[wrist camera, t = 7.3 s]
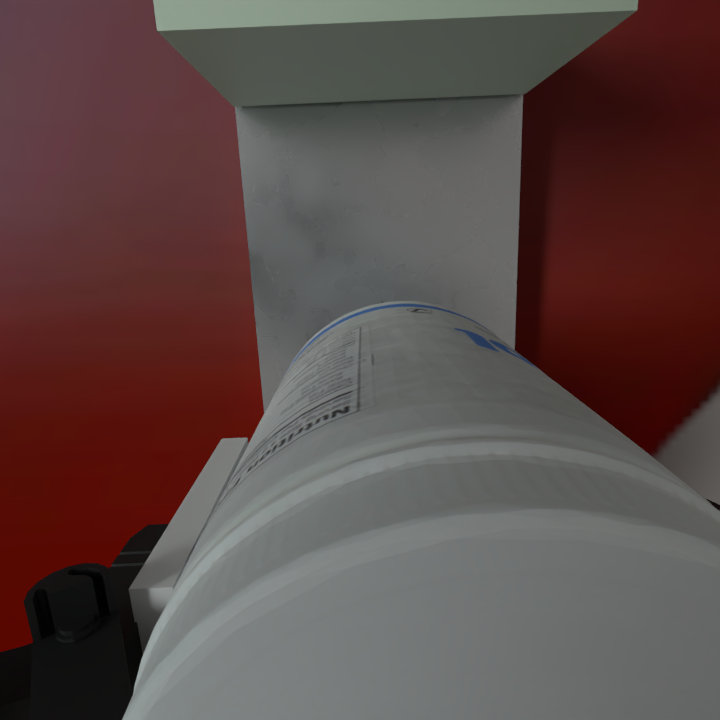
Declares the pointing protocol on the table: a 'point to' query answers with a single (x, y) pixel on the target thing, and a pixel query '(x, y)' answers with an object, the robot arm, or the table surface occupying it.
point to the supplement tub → (439, 550)
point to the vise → (379, 213)
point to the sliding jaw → (380, 45)
